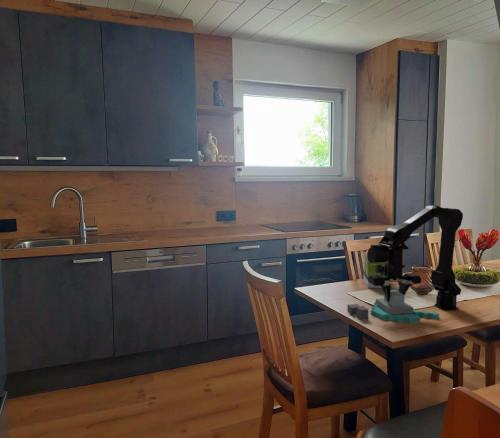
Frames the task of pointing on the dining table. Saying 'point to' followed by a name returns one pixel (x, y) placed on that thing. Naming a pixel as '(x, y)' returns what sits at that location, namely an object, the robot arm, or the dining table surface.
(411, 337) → the dining table surface
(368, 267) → the tea box
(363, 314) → the graphite chip
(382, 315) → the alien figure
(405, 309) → the sanding block
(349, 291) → the dining table surface
